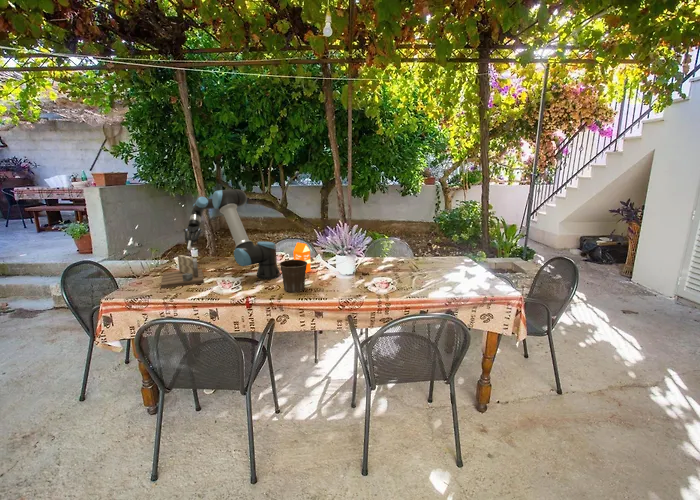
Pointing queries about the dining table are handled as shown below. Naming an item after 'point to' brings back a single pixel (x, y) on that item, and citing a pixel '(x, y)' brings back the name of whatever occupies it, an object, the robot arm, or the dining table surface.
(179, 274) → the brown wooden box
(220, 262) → the dining table surface
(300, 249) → the orange juice
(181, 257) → the leg panel
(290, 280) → the plant pot
